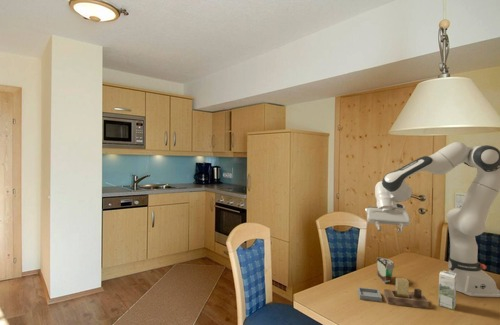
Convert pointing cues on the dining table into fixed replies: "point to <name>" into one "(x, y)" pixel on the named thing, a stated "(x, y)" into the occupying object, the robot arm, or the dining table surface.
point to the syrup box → (447, 289)
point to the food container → (384, 269)
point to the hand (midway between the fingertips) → (389, 230)
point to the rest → (369, 294)
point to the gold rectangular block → (402, 288)
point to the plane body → (407, 299)
